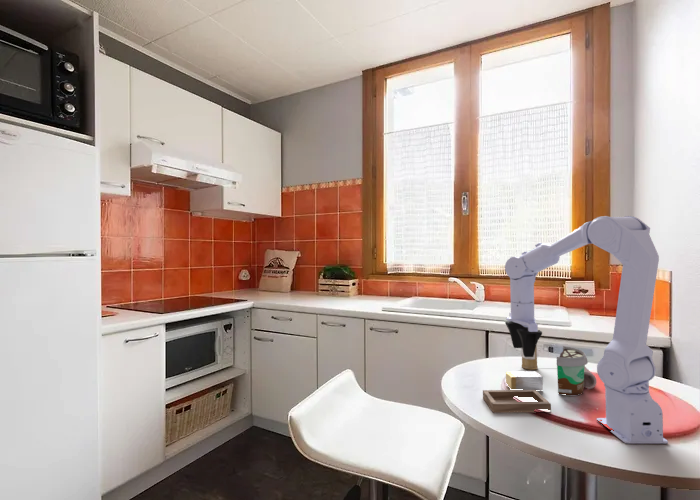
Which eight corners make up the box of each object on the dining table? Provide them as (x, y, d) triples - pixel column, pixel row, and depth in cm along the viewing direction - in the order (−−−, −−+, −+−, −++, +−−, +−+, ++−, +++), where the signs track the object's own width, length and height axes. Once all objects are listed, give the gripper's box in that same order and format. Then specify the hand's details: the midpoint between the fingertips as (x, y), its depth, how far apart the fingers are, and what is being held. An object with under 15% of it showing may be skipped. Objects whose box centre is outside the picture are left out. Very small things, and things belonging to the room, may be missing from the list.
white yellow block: (542, 391, 96) (542, 376, 96) (511, 391, 96) (511, 376, 96) (536, 385, 100) (535, 371, 100) (506, 386, 100) (505, 371, 100)
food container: (586, 402, 88) (585, 361, 88) (557, 396, 92) (556, 357, 92) (590, 385, 98) (589, 348, 98) (564, 381, 102) (563, 345, 102)
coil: (598, 374, 95) (576, 353, 113) (578, 371, 97) (559, 351, 114) (596, 391, 96) (574, 368, 113) (576, 388, 97) (557, 366, 114)
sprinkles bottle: (539, 367, 113) (538, 324, 113) (534, 371, 110) (533, 327, 110) (524, 364, 117) (523, 322, 117) (518, 368, 114) (517, 325, 113)
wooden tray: (551, 412, 84) (550, 403, 84) (493, 412, 85) (492, 404, 85) (535, 397, 92) (535, 389, 92) (482, 398, 93) (482, 390, 93)
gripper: (498, 297, 105) (499, 344, 106) (516, 306, 91) (517, 360, 91) (523, 297, 105) (524, 344, 105) (546, 306, 90) (546, 360, 91)
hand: (523, 352), depth 98 cm, fingers open, 7 cm apart
